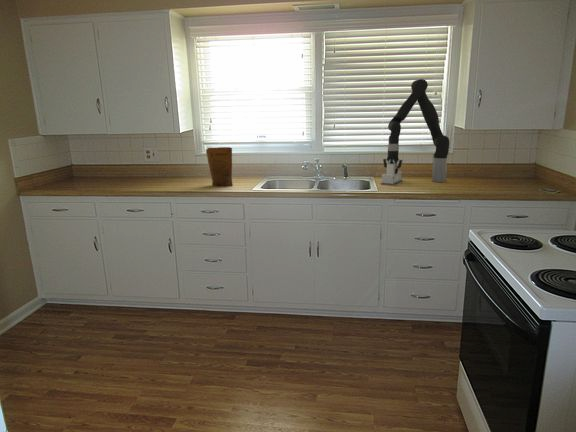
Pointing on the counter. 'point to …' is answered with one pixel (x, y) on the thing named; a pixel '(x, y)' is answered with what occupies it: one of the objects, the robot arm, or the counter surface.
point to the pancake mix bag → (220, 165)
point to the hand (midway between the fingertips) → (392, 173)
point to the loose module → (391, 169)
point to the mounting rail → (391, 179)
